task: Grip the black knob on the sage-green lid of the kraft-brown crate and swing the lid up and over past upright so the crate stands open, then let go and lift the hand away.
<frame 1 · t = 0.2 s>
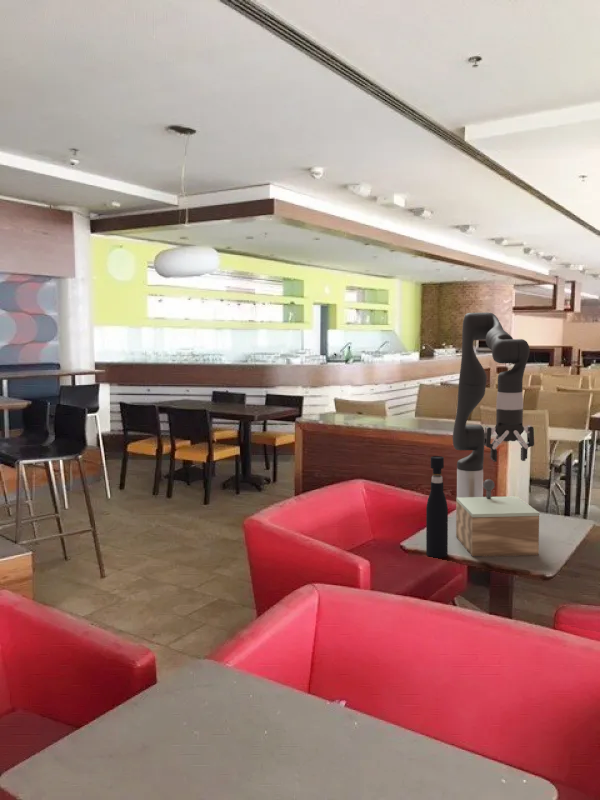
hand: (508, 460, 206), 29 cm above the table, tool pointing down, fingers open, 8 cm apart
wine bottle: (436, 554, 210), on the table
crate: (495, 545, 218), on the table
lid: (496, 496, 216), point 16 cm above the table, hinge at 0.0°
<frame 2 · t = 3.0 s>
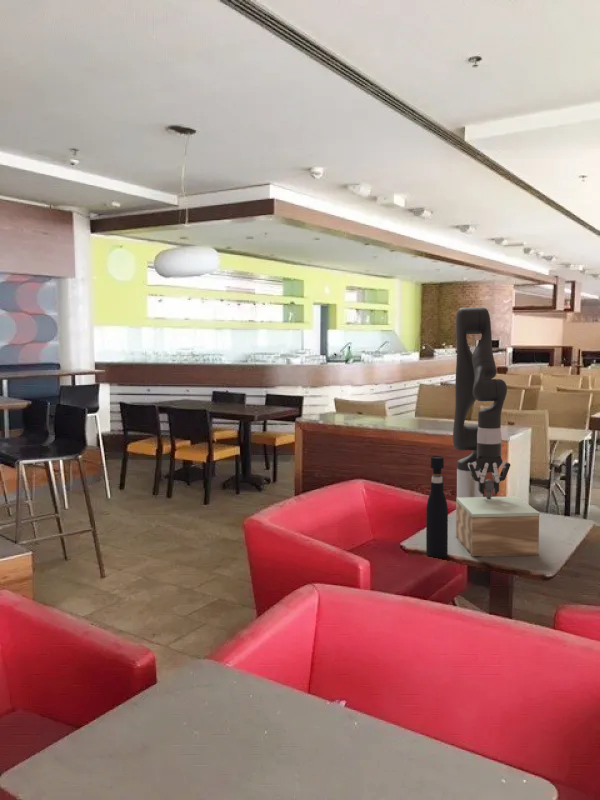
hand: (488, 493, 224), 15 cm above the table, tool pointing down, fingers closed on lid, 3 cm apart
lid: (496, 496, 216), point 16 cm above the table, hinge at 0.0°, touching gripper
everything else where it was.
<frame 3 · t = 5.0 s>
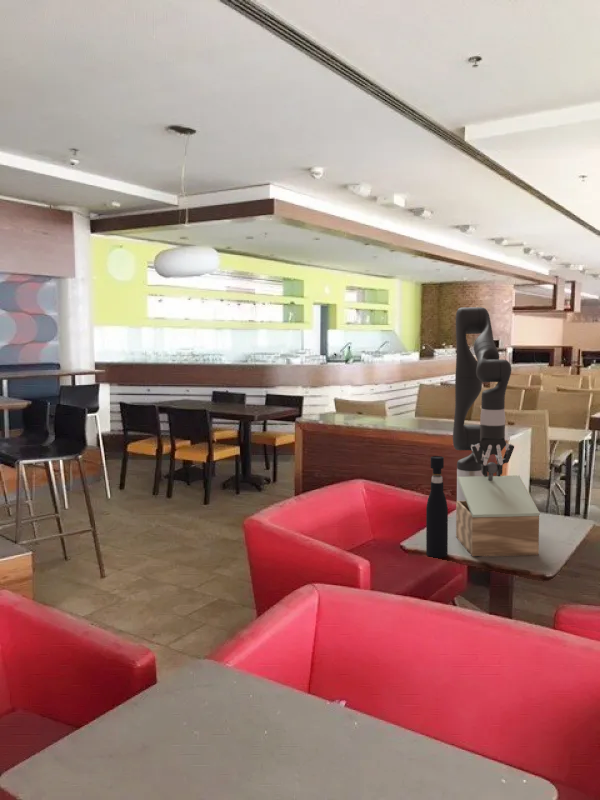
hand: (491, 475, 220), 21 cm above the table, tool pointing down, fingers closed on lid, 3 cm apart
lid: (498, 487, 213), point 19 cm above the table, hinge at 21.7°, touching gripper
everything else where it was.
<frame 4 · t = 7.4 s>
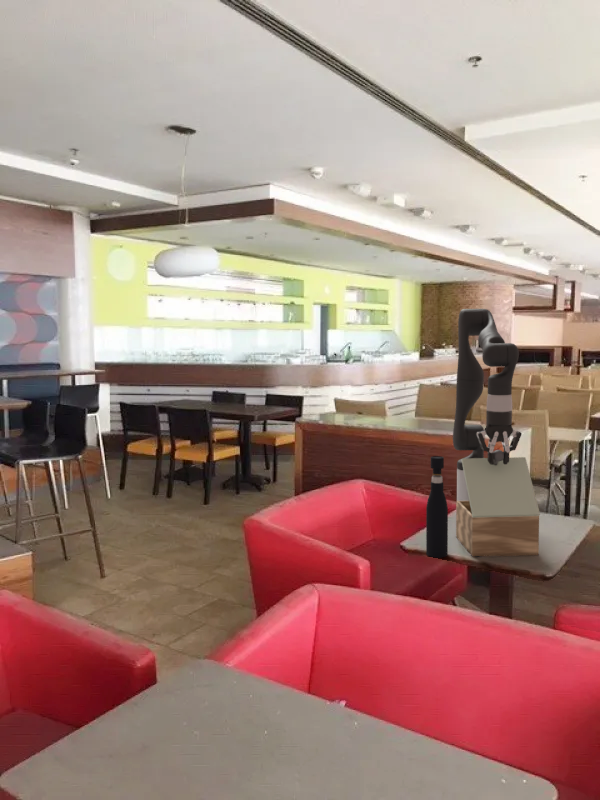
hand: (498, 463, 213), 26 cm above the table, tool pointing down, fingers closed on lid, 3 cm apart
lid: (502, 481, 209), point 22 cm above the table, hinge at 47.0°, touching gripper
everything else where it was.
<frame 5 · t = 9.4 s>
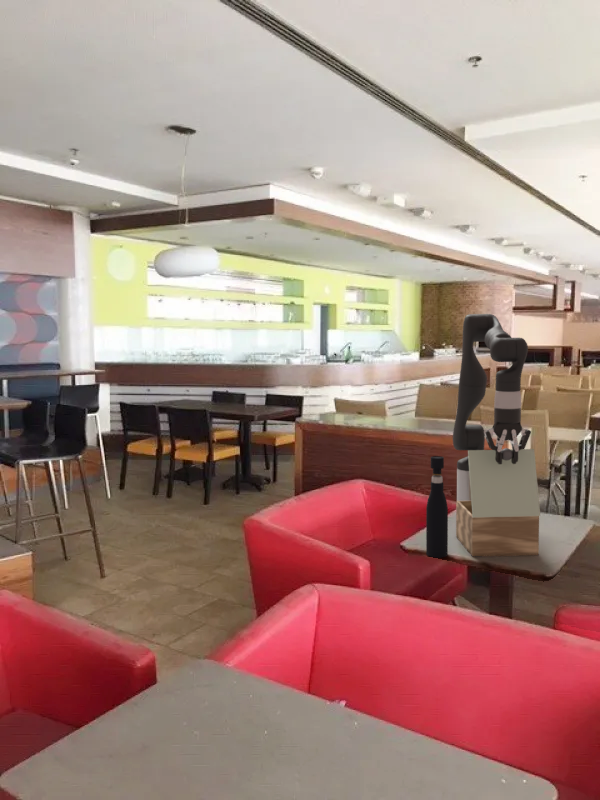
hand: (506, 463, 205), 28 cm above the table, tool pointing down, fingers closed on lid, 3 cm apart
lid: (506, 482, 205), point 23 cm above the table, hinge at 72.2°, touching gripper
everything else where it was.
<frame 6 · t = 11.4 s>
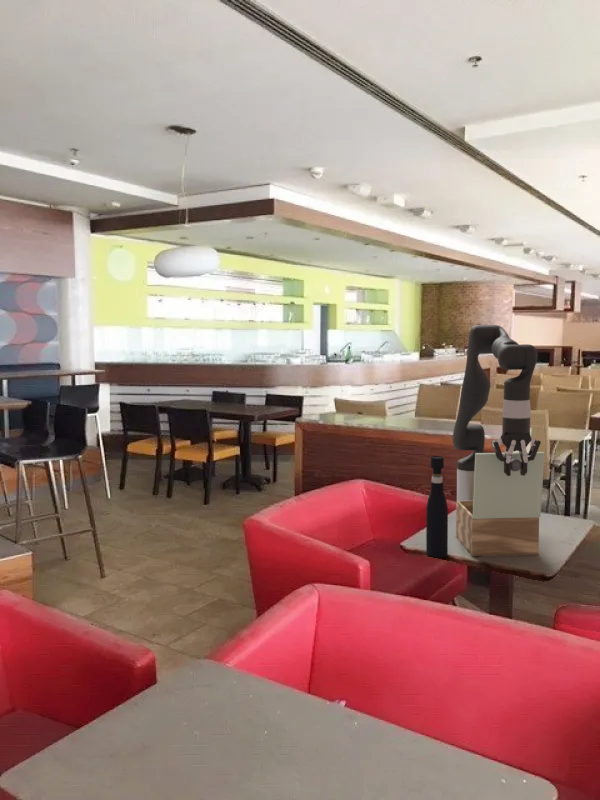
hand: (515, 475, 197), 27 cm above the table, tool pointing down, fingers closed on lid, 3 cm apart
lid: (511, 489, 200), point 22 cm above the table, hinge at 96.9°, touching gripper
everything else where it was.
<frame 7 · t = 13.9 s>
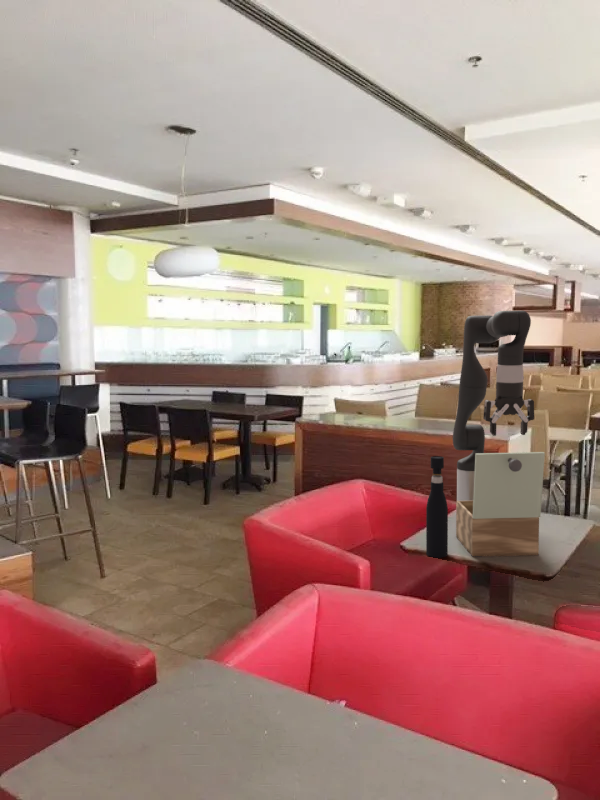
hand: (508, 434, 203), 37 cm above the table, tool pointing down, fingers open, 8 cm apart
lid: (511, 489, 200), point 22 cm above the table, hinge at 97.3°
everything else where it was.
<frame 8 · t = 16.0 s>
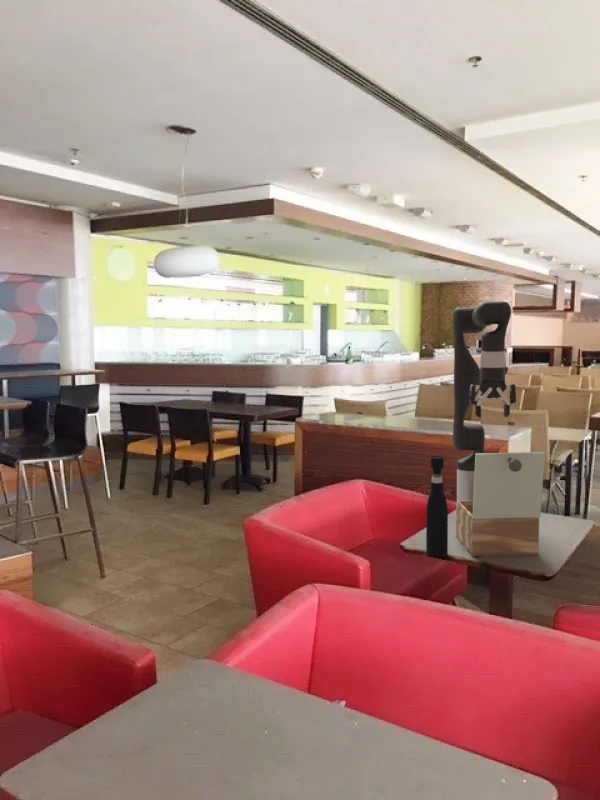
hand: (492, 417, 218), 40 cm above the table, tool pointing down, fingers open, 8 cm apart
nothing on the table moved.
at the end: lid at +97° (first picture: +0°); wine bottle moved 0.2 cm from its start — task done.
